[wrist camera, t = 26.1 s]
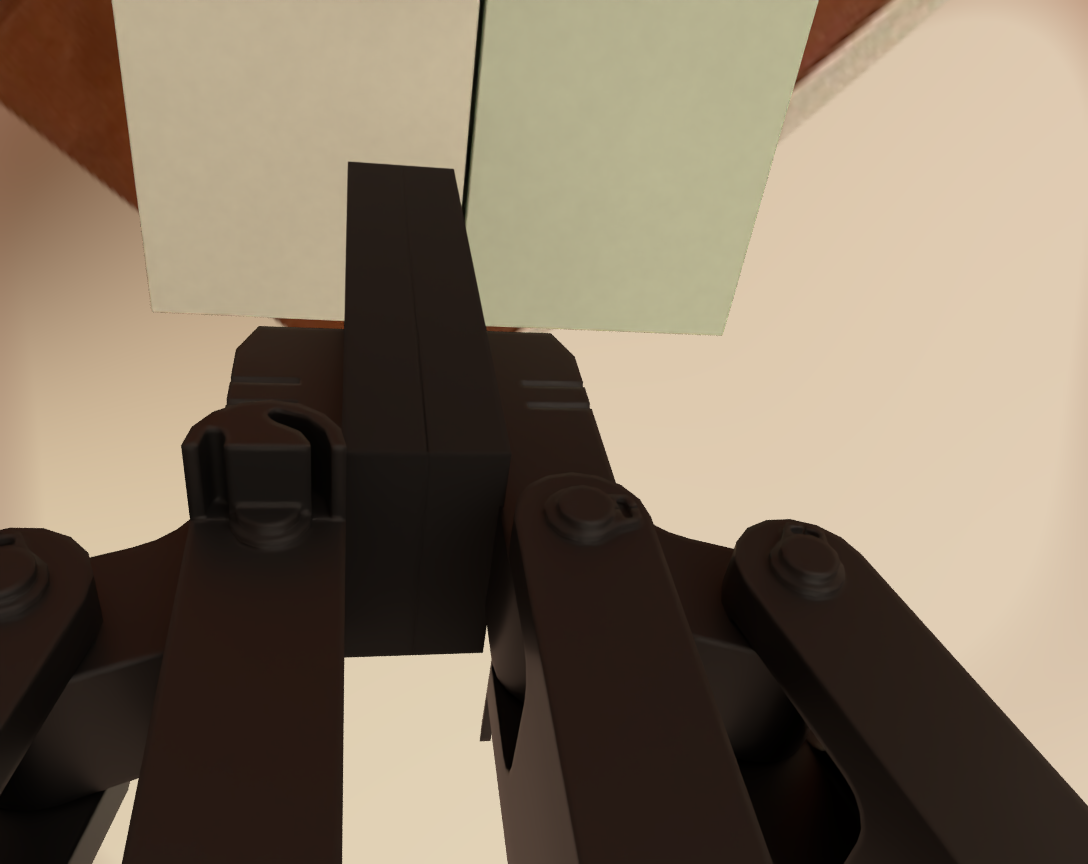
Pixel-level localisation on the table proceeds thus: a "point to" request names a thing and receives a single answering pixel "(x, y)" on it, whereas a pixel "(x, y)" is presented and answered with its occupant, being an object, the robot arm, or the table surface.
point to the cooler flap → (279, 136)
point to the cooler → (623, 156)
